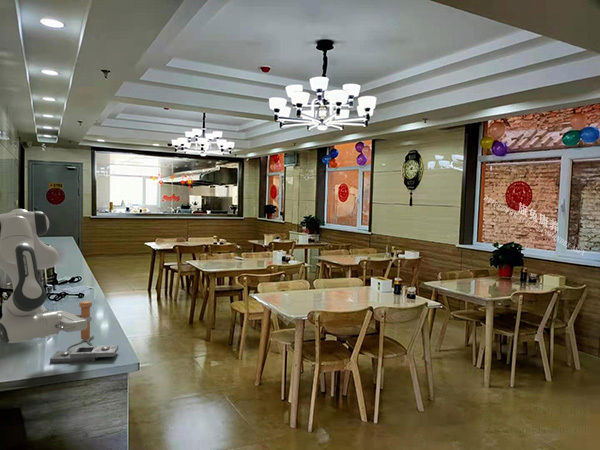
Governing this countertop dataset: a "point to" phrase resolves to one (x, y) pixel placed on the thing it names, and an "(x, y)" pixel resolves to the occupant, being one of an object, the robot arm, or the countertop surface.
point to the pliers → (83, 342)
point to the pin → (85, 312)
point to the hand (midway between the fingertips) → (87, 317)
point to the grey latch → (84, 354)
